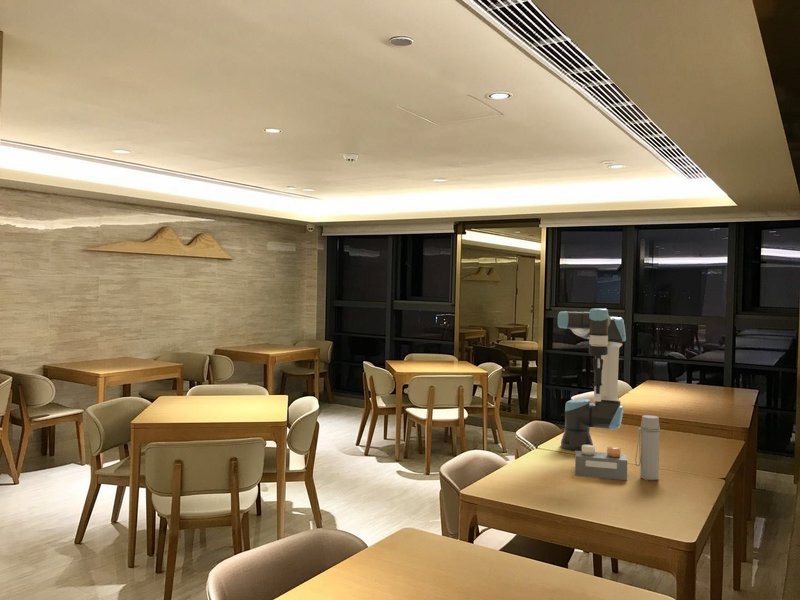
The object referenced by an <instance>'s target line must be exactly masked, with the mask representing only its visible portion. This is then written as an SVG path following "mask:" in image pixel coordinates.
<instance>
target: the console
mask: <svg viewBox="0 0 800 600" xmlns="http://www.w3.org/2000/svg"><path fill="white" fill-rule="evenodd" d="M574 462H575V465H574V470H575V471H574V477H575V476H576V477H584V478H585V477H586V478H594V479H608V480H617V481H628V457H627V455H626V454H624V453H623V454H620V457H617V458H615V457H611V456H608V455H607V452H600V451H599V452H597V451H595V454H594V455H585V454H582V451H575V461H574Z"/></svg>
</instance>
